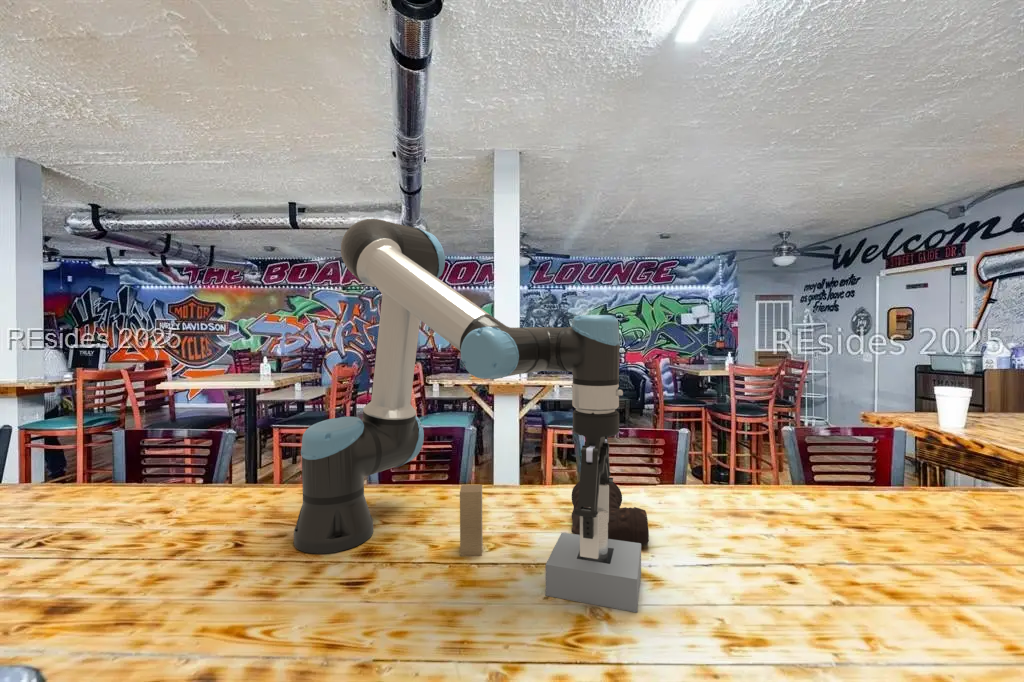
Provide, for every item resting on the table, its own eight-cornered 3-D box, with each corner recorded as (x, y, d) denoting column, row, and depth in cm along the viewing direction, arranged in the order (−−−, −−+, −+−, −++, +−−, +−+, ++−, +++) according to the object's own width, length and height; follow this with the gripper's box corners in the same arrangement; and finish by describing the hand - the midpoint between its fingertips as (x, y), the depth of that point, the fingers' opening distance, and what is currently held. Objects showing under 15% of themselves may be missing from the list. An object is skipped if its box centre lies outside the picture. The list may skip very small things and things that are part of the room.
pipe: (649, 514, 86) (639, 475, 101) (568, 514, 89) (570, 476, 103) (650, 560, 88) (641, 515, 103) (571, 559, 90) (573, 516, 105)
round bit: (581, 587, 75) (581, 515, 75) (585, 575, 79) (585, 505, 79) (606, 591, 74) (606, 518, 74) (609, 579, 78) (609, 508, 78)
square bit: (460, 556, 86) (459, 492, 86) (461, 546, 90) (461, 484, 90) (481, 555, 86) (481, 491, 86) (482, 545, 90) (482, 484, 90)
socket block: (545, 595, 73) (545, 564, 73) (561, 559, 85) (561, 532, 84) (637, 612, 69) (637, 579, 69) (641, 571, 80) (641, 543, 80)
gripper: (610, 426, 63) (610, 580, 63) (625, 398, 86) (625, 511, 87) (556, 422, 65) (556, 571, 66) (585, 397, 89) (585, 506, 89)
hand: (595, 537), depth 76 cm, fingers open, 13 cm apart
